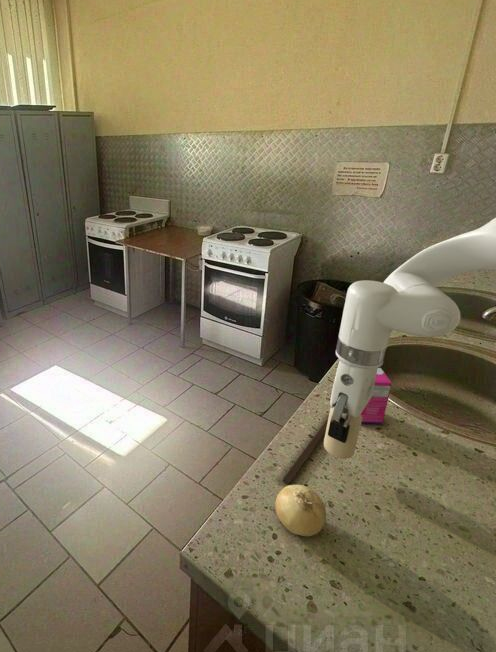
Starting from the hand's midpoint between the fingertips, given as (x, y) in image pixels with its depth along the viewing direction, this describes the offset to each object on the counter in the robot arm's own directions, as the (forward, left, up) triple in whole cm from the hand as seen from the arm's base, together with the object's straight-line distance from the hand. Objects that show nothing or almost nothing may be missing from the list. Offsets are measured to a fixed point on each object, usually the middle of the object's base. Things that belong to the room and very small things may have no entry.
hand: (342, 429), depth 76 cm
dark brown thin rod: (+5, 0, -8) cm, 10 cm away
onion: (0, +18, -8) cm, 20 cm away
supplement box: (0, -18, -8) cm, 20 cm away
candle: (0, 0, -5) cm, 5 cm away
